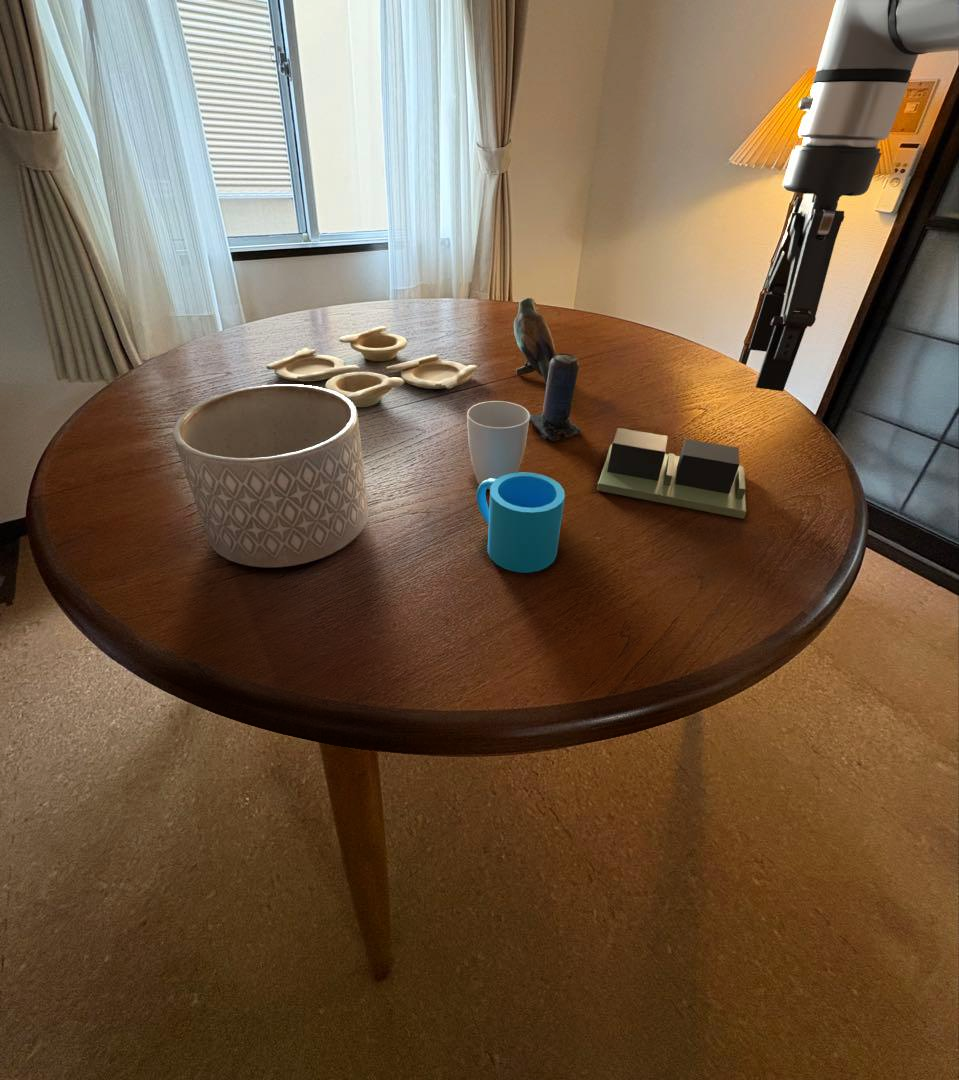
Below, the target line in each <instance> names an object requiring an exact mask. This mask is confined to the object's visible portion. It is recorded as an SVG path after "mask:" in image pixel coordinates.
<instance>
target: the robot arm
mask: <svg viewBox="0 0 959 1080" xmlns="http://www.w3.org/2000/svg"><path fill="white" fill-rule="evenodd" d="M955 51H956V52H957V51H958V52H959V0H835V3H834V5H833V9H832V13H831V16H830V20H829V24H828V27H827V31H826V34H825V38H824V41H823V45H822V48H821V51H820V55H819V58H818V62H817V66H816V69H815V74H814V77H813V81H812V83H813V84H812V85H811V89H810V91H809V93H810V96H805V97H802V98H801V99H800V101H799V103H798V106H797V107H798V110H800V111H806V113H804V114H803V116H802V118H801V121H800V125H799V128H798V132H797V135H798V136H799V137H798V138H802V139H803V140H802V143H801V145H795V147H794V149H792V151H791V154H790V156H789V157H790V158H789V161H788V165H787V167H786V170H785V175H784V177H783V181H782V188H783V190H784V191H787V192H790V193H796V194H803V195H804V196H797V197H796V200H794V202H793V207H792V208H793V209H792V211H791V213H790V215H789V218H788V221H787V226H786V229H785V231H784V234H783V236H782V240H781V242H780V245H779V248H778V250H777V252H776V255H775V258H774V261H773V262H772V266H771V268H770V271H769V273H768V275H767V277H766V280H767V282H766V283H767V284H766V287H765V288H766V292H767V293H766V292H765V294H764V297H763V300H762V304H761V307H760V310H759V313H758V317H757V319H756V323H755V326H754V330H753V332H752V336H751V340H750V342H749V346H748V350H749V351H758V352H765V355H764V358H763V361H762V364H761V366H760V367H761V368H760V370H759V373H758V376H757V380H756V381H755V388H756V389H761V390H769V391H770V390H771V391H777V392H784V391H785V387H786V385H787V382H788V379H789V376H790V373H791V371H792V368H793V365H794V362H795V360H796V357H797V354H798V351H799V349H800V347H801V343H802V340H803V338H804V335H805V332H806V329H807V328H812V327H813V325H814V324H815V322H816V319H817V318H816V316H817V312H818V308H819V305H820V300H821V297H822V293H823V289H824V287H825V286H824V285H825V282H826V278H827V275H828V271H829V268H830V263H831V259H832V256H833V252H834V248H835V245H836V241H837V237H838V235H839V231H840V228H841V226H842V223H843V222H844V219H845V210H838V209H837V208H838V205H839V200H840V198H841V197H842V196H846V197H856V196H861V195H864V194H865V193H867V192H868V191H869V188H870V185H871V183H872V180H873V178H874V176H875V172H876V170H877V167H878V163H879V162H880V159H881V156H882V152H881V148H880V147H879V148H878V145H879V143H880V141H885V140H887V138H889V136H890V135H891V134H890V133H891V131H892V128H893V125H894V124H895V121H896V118H897V115H898V112H899V110H900V107H901V105H902V101H903V99H904V96H905V94H906V91H907V88H908V86H909V81H910V79H911V76H912V72H913V69H914V66H915V64H916V61H917V59H918V58H919V57H918V56H919V55H925V54H933V53H944V52H955Z"/></svg>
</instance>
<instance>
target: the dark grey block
mask: <svg viewBox="0 0 959 1080" xmlns="http://www.w3.org/2000/svg"><path fill="white" fill-rule="evenodd" d="M739 452H740V451H739V447H737V446H732V445H726V444H719V443H714V442H707V441H701V440H696V439H695V440H694V439H689V438H684V440H683V444H682V447H681V451H680V455H679V456H680V458H679V462H678V465H677V472H676V481H675V484H678V485H683V486H689V487H694V488H699V489H705V490H710V491H715V492H721V493H726V494H729V493H730V490H731V487H732V484H733V482H734V479H735V476H736V473H737V470H738V467H739V465H740V453H739Z"/></svg>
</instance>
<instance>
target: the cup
mask: <svg viewBox="0 0 959 1080" xmlns="http://www.w3.org/2000/svg"><path fill="white" fill-rule="evenodd" d="M530 415H531V414H530V412H529V410H528V409H527V408H525V407H524V406H522V405H520V404H518V403H514V402H510V401H503V400H489V401H483V402H479V403H476V404H474V405H472V406H470V407H469V408H468V410H467V411H466V420H467V439H468V441H467V442H468V447H469V454H470V459H471V465H472V469H473V472H474V475H475V478H476V481H477V484H478V486H480V484H481V483H482V482H483V481H485V480H488V479H490V478H494V479H498V478H499V477H501V476H504V475H507V474H510V473H518V472H519V471H520V468H521V464H522V461H523V457H524V454H525V449H526V446H527V438H528V432H529V425H530V423H529V419H530ZM490 487H491V486H489V487H488V488H487V489H486V490H490Z"/></svg>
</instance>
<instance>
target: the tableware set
mask: <svg viewBox="0 0 959 1080" xmlns="http://www.w3.org/2000/svg"><path fill="white" fill-rule="evenodd" d="M386 331H387V327H386V326H384V325H381V326H377V327H374V328H371V329H368V330H365V331H363V332H360V333H355V334H347V335H343V336H340V337H339V338H338V341H339V342H340V343H343V344H349V345H350V348H351V349H352V350H354V351H356V352H359V353H360V354H361V355H362V356H363V358H365V359H366V360H367V361H373V362H385V361H391V360H393V359H395V358H396V356H397V354H398V353H399V352H400V351H402V350H405V348H406V347H407V346H408V340H407V339H406V338H405V336H401V335H398V334H395V333H385V332H386ZM317 352H318V350H317V349H313V348H308V347H305V348H302V349H300V350H298V351H296V352H295V354H293V355H290V356H287V357H284V358H282V359H279V360H276V361H274V362H270V363H268V364H266V366H265V367H266V369H267V370H271V371H272V370H273V371H274V373H275V375H276V376H277V377H278V378H281V379H284V380H286V381H293V382H316V381H317V382H319V381H323V380H327V381H326V382H325V385H324V389H328V390H331V391H334V392H337V393H339V394H341V395H343V396H344V397H346V398H347V399H349V400H350V401H351V402H352V403H353V404H354V405H355V407H356V408H366V407H371V406H374V405H376V404H378V403H379V402H380V401H381V399H382V397H383V396H384V395H385V394H388V393H389V392H391V391H392V389H393V388H399V387H400V386H402V385H403V384H404V383H407V384H409V385H411V386H414V387H417V388H422V389H447V390H450V389H452V388H454V387H458V386H460V385H461V386H462V385H463V384H466V383H467V382H468V381H470V379H471V378H472V374H473V373H474V372H476V371H477V370H478V366H477V365H476V364H469V365H465V364H463V363H460V362H456V361H450V360H443V359H442V360H441V359H440V355H439V354H432V355H428V356H423V357H419V358H415V359H412V360H408V361H404V362H400V363H397V364H396V363H395V364H392V365H388V366H386V367H385V368H386V371H387V372H390V373H395V372H399V371H400V377H397V376H396V377H395V376H393V377H389V376H387V375H385V374H381V373H379V372H378V373H377V372H371V371H370V372H369V371H360V369H361V368H360V366H359V365H357V364H348V365H346V363H345V362H344V360H342V359H341V358H339V357H336V356H332V355H328V354H316V353H317Z"/></svg>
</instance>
